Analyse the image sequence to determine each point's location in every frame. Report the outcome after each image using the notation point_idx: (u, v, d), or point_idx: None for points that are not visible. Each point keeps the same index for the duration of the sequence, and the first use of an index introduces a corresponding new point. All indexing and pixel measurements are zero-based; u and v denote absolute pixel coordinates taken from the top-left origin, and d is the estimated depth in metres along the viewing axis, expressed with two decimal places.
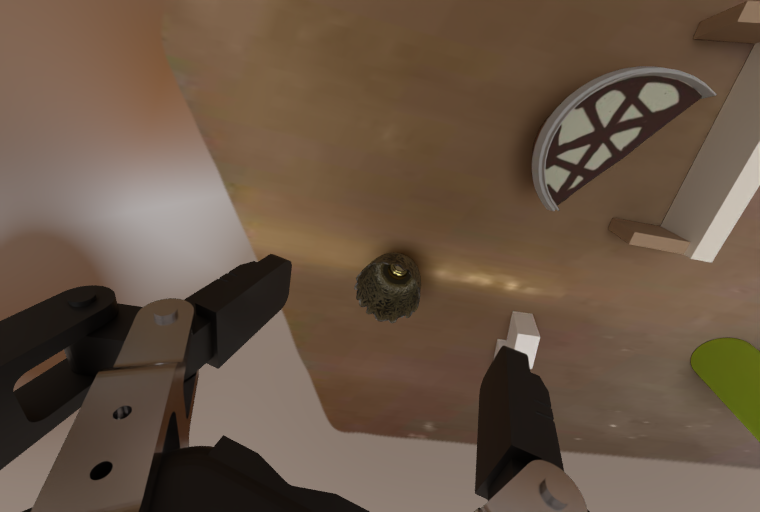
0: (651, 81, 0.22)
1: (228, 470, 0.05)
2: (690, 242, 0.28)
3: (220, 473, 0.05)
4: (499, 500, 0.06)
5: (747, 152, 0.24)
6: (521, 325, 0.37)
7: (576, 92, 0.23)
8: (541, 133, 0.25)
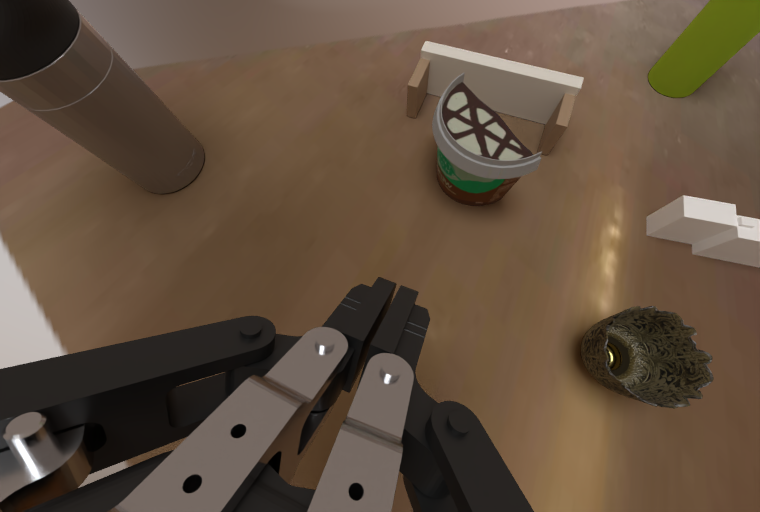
0: (446, 105, 0.31)
1: None
2: (565, 92, 0.35)
3: None
4: (356, 403, 0.07)
5: (498, 72, 0.36)
6: (669, 218, 0.32)
7: (442, 147, 0.30)
8: (468, 169, 0.29)
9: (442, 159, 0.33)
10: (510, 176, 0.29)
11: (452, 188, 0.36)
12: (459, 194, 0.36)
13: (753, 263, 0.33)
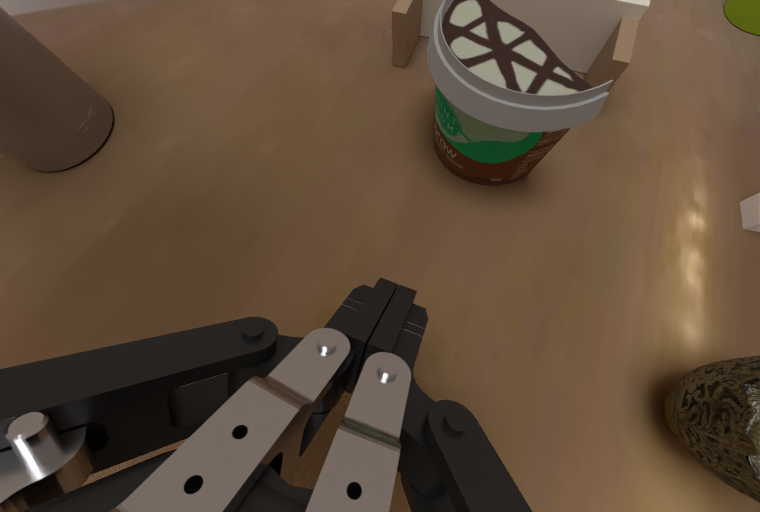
0: (449, 18, 0.19)
1: None
2: (623, 16, 0.24)
3: None
4: (354, 403, 0.07)
5: None
6: None
7: (442, 83, 0.19)
8: (485, 117, 0.18)
9: (442, 111, 0.22)
10: (555, 127, 0.18)
11: (457, 158, 0.24)
12: (467, 167, 0.24)
13: None
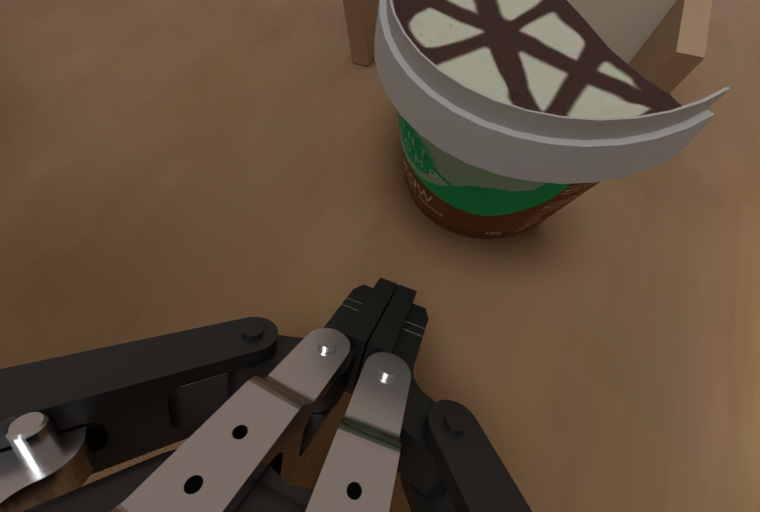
0: None
1: None
2: None
3: None
4: (354, 403, 0.07)
5: None
6: None
7: (394, 91, 0.11)
8: (470, 155, 0.10)
9: (406, 134, 0.14)
10: (602, 175, 0.09)
11: (434, 203, 0.16)
12: (449, 216, 0.16)
13: None
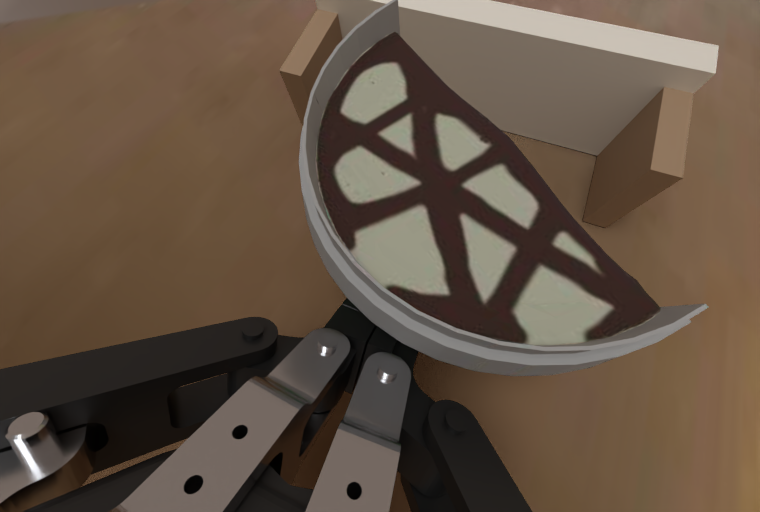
0: (339, 104, 0.09)
1: None
2: (665, 86, 0.14)
3: None
4: (354, 403, 0.07)
5: (494, 37, 0.15)
6: None
7: (318, 247, 0.09)
8: (403, 339, 0.08)
9: None
10: (558, 372, 0.08)
11: None
12: None
13: None
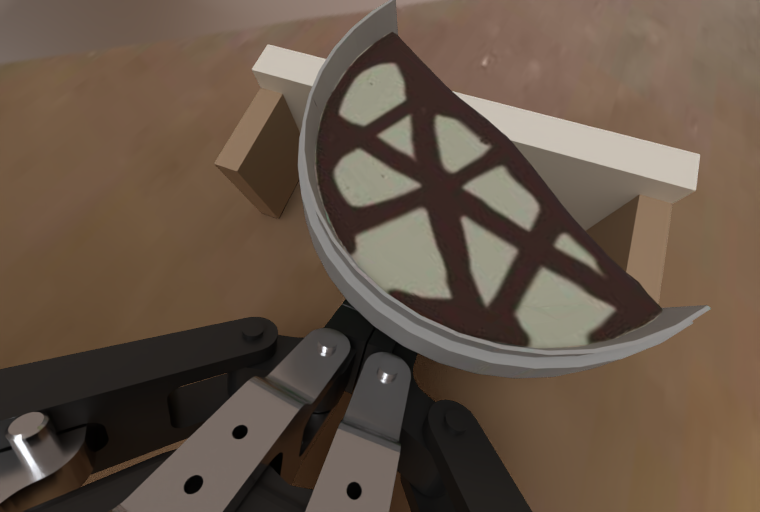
0: (337, 106, 0.09)
1: None
2: (641, 194, 0.12)
3: None
4: (354, 403, 0.07)
5: None
6: None
7: (318, 251, 0.09)
8: (405, 343, 0.08)
9: None
10: (560, 374, 0.08)
11: None
12: None
13: None
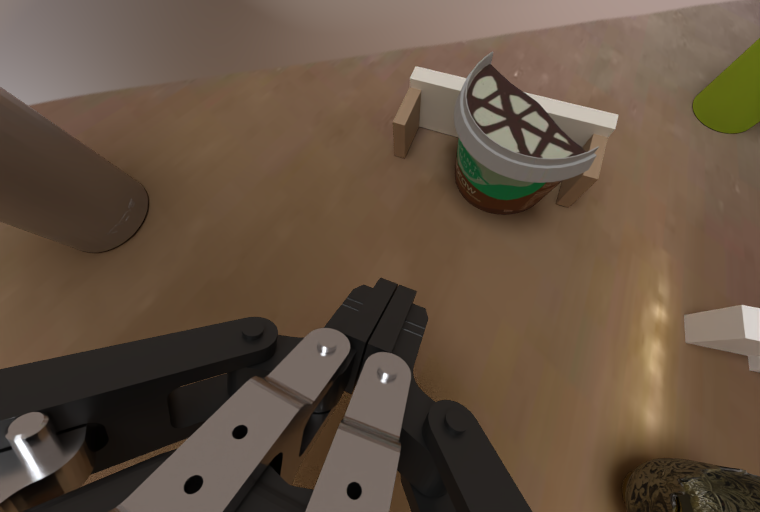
0: (471, 92, 0.25)
1: None
2: (594, 133, 0.28)
3: None
4: (354, 403, 0.07)
5: None
6: (720, 331, 0.23)
7: (467, 143, 0.24)
8: (502, 171, 0.23)
9: (465, 159, 0.27)
10: (556, 179, 0.23)
11: (476, 194, 0.30)
12: (484, 201, 0.30)
13: None
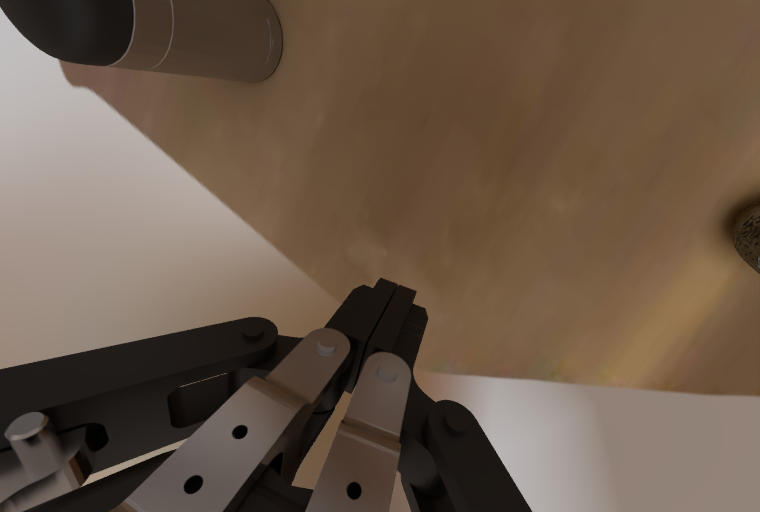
0: None
1: None
2: None
3: None
4: (354, 403, 0.07)
5: None
6: None
7: None
8: None
9: None
10: None
11: None
12: None
13: None
